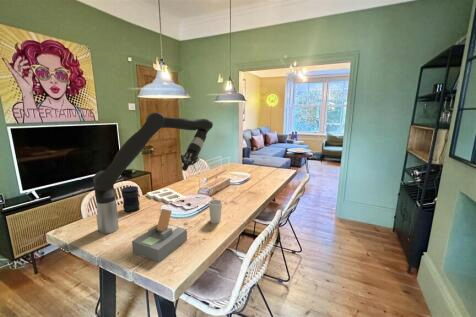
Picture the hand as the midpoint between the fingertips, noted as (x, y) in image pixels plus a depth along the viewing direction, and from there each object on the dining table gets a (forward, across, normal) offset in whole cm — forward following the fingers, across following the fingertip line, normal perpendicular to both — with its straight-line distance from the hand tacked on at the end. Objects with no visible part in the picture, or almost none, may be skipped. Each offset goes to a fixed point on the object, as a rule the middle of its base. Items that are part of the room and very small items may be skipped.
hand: (183, 170), depth 133 cm
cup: (+17, +16, +29) cm, 37 cm away
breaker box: (+41, +6, +4) cm, 42 cm away
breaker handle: (+37, +6, 0) cm, 37 cm away
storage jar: (+25, -42, +21) cm, 53 cm away
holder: (+8, -29, +38) cm, 49 cm away
